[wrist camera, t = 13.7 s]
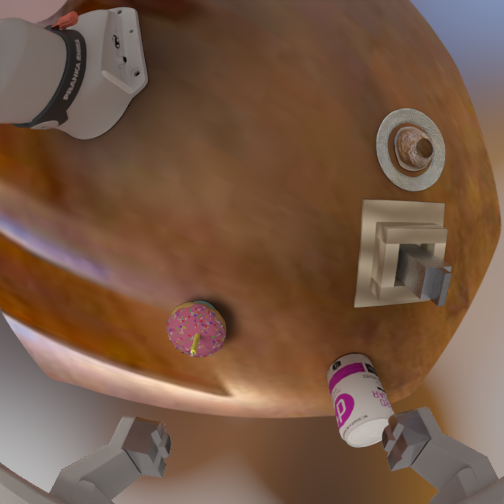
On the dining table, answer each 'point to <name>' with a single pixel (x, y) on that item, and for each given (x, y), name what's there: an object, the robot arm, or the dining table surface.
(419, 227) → the well
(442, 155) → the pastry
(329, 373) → the supplement can
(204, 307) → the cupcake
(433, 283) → the grey long block
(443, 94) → the dining table surface
